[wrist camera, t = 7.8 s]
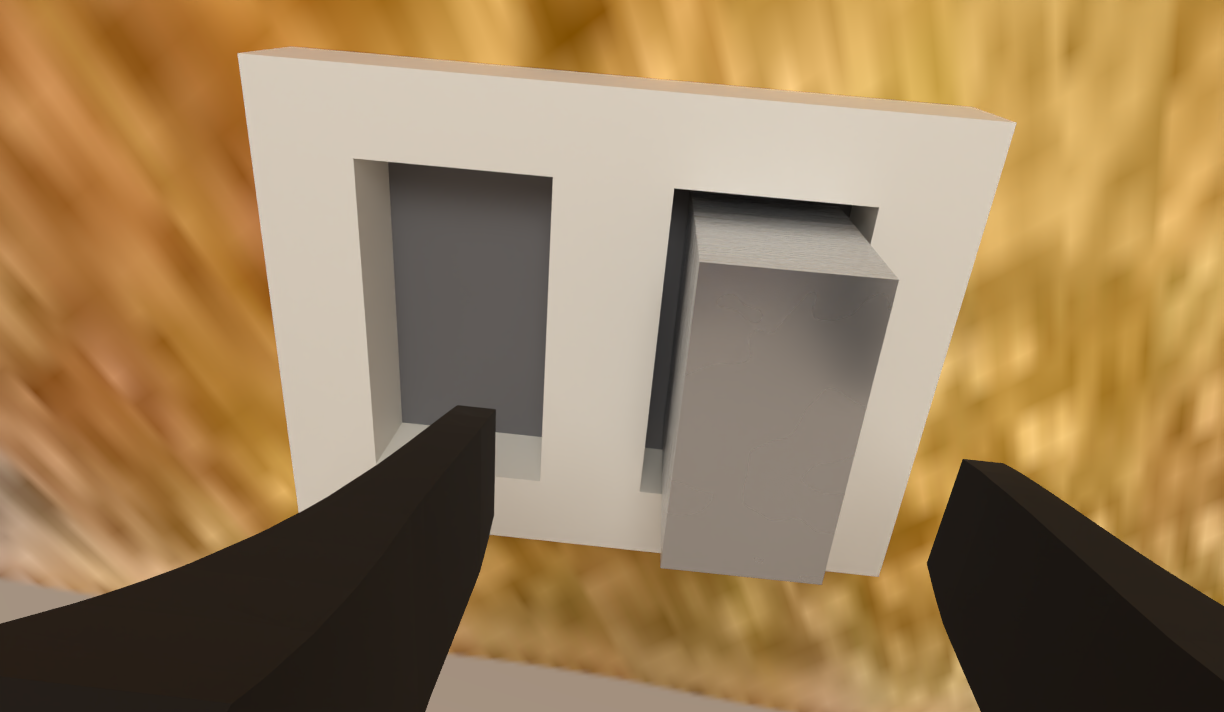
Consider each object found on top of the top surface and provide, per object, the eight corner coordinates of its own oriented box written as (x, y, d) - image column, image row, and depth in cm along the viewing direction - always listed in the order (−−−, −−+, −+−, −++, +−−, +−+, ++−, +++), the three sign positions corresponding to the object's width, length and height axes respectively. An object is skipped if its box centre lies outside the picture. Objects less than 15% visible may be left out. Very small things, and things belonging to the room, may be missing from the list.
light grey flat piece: (334, 464, 23) (299, 513, 21) (291, 46, 18) (237, 53, 16) (858, 520, 23) (878, 576, 21) (972, 107, 18) (1016, 122, 15)
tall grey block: (662, 425, 22) (660, 568, 16) (691, 185, 19) (699, 262, 13) (783, 437, 21) (821, 584, 16) (831, 197, 18) (899, 279, 13)
